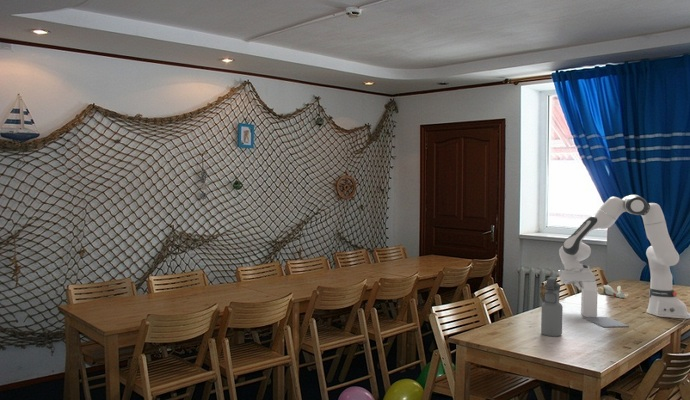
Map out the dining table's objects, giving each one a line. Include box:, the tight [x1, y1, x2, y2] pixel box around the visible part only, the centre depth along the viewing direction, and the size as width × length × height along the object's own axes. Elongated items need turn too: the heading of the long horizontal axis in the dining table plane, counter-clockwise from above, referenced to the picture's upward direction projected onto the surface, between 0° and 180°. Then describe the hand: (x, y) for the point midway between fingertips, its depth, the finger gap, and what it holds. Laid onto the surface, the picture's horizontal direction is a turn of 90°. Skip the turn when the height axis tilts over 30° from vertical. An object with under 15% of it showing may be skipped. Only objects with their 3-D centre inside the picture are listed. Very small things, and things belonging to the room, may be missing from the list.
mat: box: [582, 316, 630, 329], centre depth 321 cm, size 20×14×1 cm
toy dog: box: [597, 280, 629, 299], centre depth 395 cm, size 12×19×9 cm, turn 41°
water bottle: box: [540, 276, 564, 337], centre depth 295 cm, size 10×10×28 cm
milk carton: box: [580, 281, 599, 317], centre depth 336 cm, size 7×7×19 cm
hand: (581, 289), depth 344 cm, fingers closed
